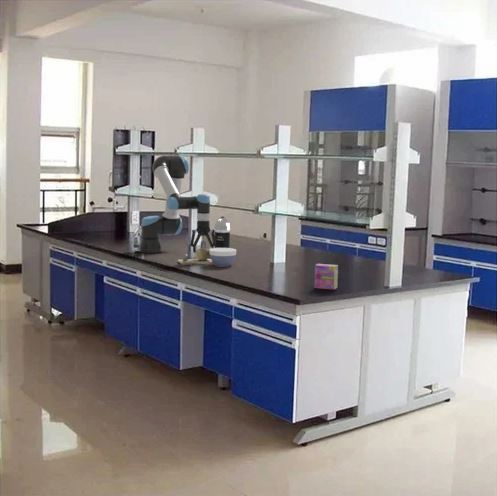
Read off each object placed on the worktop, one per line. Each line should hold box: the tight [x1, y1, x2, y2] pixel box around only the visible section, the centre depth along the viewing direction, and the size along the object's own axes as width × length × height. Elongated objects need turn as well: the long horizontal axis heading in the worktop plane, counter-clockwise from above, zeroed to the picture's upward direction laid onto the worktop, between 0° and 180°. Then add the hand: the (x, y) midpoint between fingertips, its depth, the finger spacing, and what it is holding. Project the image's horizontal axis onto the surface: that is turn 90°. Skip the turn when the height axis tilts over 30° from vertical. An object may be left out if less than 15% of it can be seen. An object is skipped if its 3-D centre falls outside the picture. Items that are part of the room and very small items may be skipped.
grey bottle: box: [214, 216, 231, 248], centre depth 460 cm, size 10×10×25 cm
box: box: [314, 263, 339, 290], centre depth 356 cm, size 10×6×12 cm, turn 66°
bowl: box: [209, 247, 237, 268], centre depth 419 cm, size 16×16×10 cm
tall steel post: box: [199, 240, 207, 261], centre depth 429 cm, size 5×5×12 cm
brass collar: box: [193, 248, 211, 259], centre depth 429 cm, size 8×8×5 cm
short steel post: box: [182, 253, 189, 262], centre depth 426 cm, size 3×3×4 cm
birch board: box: [177, 258, 215, 266], centre depth 428 cm, size 12×20×1 cm, turn 110°
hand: (203, 257), depth 429 cm, fingers closed on brass collar, 8 cm apart
